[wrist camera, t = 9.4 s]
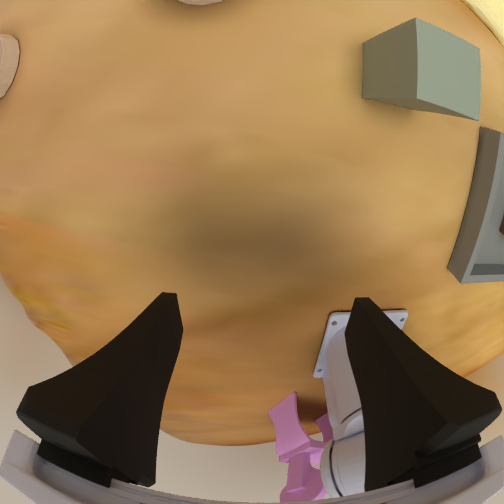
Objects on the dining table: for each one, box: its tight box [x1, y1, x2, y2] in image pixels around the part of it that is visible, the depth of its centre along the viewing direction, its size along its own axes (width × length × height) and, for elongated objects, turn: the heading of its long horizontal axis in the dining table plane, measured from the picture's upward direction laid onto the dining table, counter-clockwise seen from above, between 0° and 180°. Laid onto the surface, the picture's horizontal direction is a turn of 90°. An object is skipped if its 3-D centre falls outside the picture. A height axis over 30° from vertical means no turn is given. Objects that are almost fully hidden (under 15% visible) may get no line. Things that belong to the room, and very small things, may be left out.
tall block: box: [362, 18, 481, 121], centre depth 10 cm, size 4×4×7 cm
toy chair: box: [268, 392, 334, 503], centre depth 25 cm, size 8×9×15 cm
